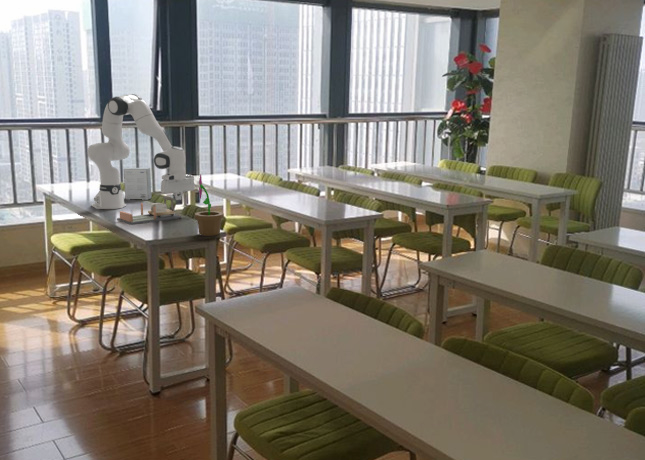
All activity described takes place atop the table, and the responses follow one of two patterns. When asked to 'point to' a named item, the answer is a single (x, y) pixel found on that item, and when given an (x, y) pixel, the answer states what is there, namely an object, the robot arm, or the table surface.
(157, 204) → the tan box with handle
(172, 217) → the dock mat
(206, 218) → the flowerpot
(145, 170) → the hard drive box
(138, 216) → the rails
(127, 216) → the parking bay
